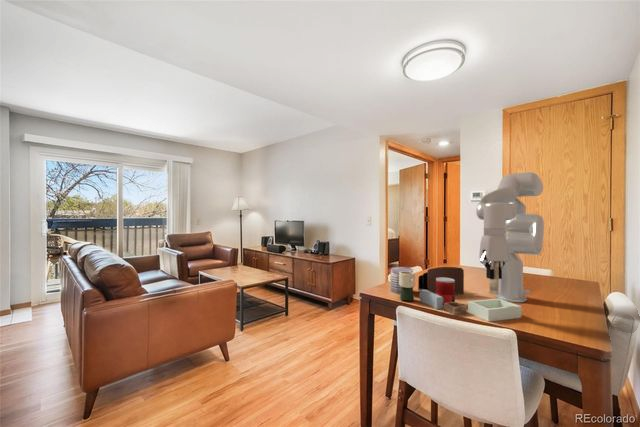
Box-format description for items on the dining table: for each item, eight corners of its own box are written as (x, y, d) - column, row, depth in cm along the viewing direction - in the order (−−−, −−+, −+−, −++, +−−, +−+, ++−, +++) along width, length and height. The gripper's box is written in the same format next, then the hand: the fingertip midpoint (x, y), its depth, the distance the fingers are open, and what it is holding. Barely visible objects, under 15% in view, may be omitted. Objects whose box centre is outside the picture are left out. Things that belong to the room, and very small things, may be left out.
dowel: (493, 292, 112) (494, 260, 112) (500, 294, 109) (500, 261, 109) (487, 292, 111) (488, 260, 111) (494, 294, 108) (494, 262, 109)
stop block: (425, 300, 129) (425, 289, 129) (442, 308, 117) (442, 297, 117) (419, 300, 128) (419, 289, 128) (436, 309, 117) (436, 297, 117)
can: (417, 294, 138) (417, 270, 138) (396, 295, 136) (397, 271, 136) (405, 288, 149) (405, 266, 149) (386, 289, 147) (386, 267, 147)
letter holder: (464, 294, 139) (464, 266, 139) (427, 296, 136) (428, 267, 136) (451, 288, 149) (452, 263, 149) (417, 290, 146) (418, 263, 146)
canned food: (457, 306, 120) (457, 281, 120) (437, 305, 122) (437, 280, 122) (452, 301, 128) (452, 277, 128) (434, 299, 129) (434, 276, 129)
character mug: (420, 303, 124) (420, 274, 124) (406, 304, 123) (406, 275, 123) (407, 296, 135) (407, 269, 135) (394, 297, 133) (394, 270, 133)
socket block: (456, 308, 117) (456, 301, 117) (466, 313, 112) (466, 306, 112) (444, 310, 116) (444, 303, 116) (454, 315, 110) (454, 307, 110)
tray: (498, 308, 117) (498, 298, 117) (521, 317, 108) (521, 306, 108) (467, 312, 113) (468, 301, 113) (488, 321, 104) (488, 309, 104)
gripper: (502, 232, 116) (501, 275, 116) (470, 232, 112) (470, 277, 112) (519, 233, 109) (518, 279, 109) (485, 233, 105) (485, 281, 105)
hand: (494, 278), depth 110 cm, fingers closed on dowel, 3 cm apart
